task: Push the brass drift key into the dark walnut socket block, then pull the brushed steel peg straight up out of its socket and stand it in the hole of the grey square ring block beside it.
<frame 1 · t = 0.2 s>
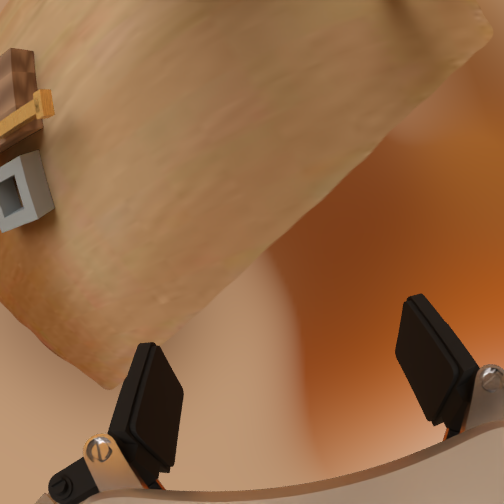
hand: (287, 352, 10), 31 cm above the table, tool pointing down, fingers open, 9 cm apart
grey square ring block: (26, 187, 36), on the table
drift key: (19, 118, 25), point 7 cm above the table, slide at 0.0 cm
socket block: (9, 106, 30), on the table
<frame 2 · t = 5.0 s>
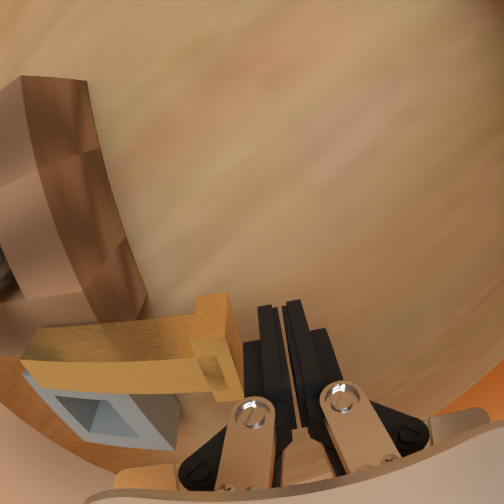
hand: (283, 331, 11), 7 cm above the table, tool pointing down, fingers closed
grey square ring block: (112, 374, 22), on the table
drift key: (118, 357, 11), point 7 cm above the table, slide at 0.6 cm, touching gripper
socket block: (32, 219, 16), on the table
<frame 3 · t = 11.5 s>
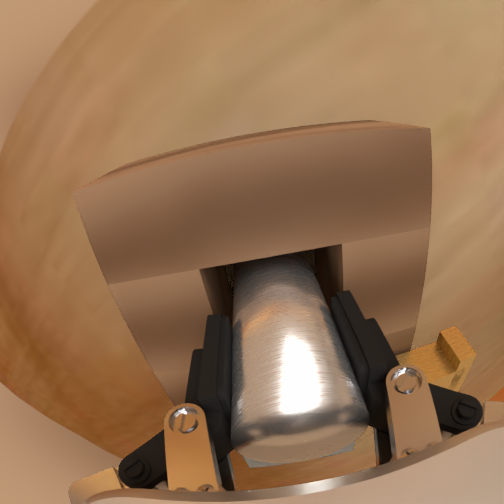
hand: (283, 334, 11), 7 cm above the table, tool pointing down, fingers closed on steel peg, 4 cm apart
grey square ring block: (291, 396, 24), on the table
drift key: (380, 388, 13), point 7 cm above the table, slide at 4.1 cm
steel peg: (280, 313, 12), in the socket block, touching gripper
socket block: (268, 251, 18), on the table
when the fingers open (10 cm above the table, at t = 17.5 s): steel peg drops 2 cm, resting in grey square ring block.
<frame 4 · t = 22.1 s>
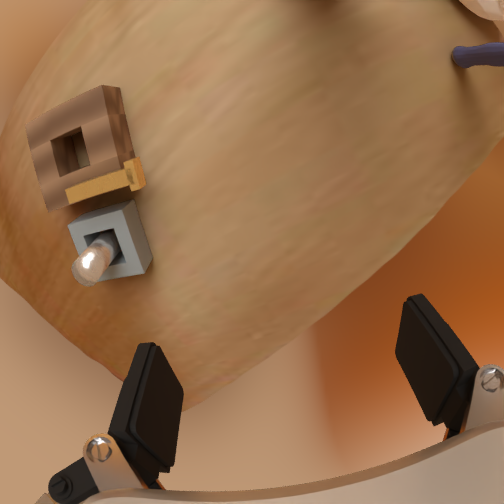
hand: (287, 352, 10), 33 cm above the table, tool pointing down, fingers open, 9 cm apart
grey square ring block: (116, 235, 43), on the table
drift key: (103, 183, 32), point 7 cm above the table, slide at 4.1 cm
rubber mallet: (455, 57, 31), on the table
steel peg: (102, 251, 38), in the grey square ring block
socket block: (89, 146, 37), on the table
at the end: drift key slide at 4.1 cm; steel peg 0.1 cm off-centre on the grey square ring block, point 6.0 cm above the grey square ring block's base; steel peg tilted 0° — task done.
